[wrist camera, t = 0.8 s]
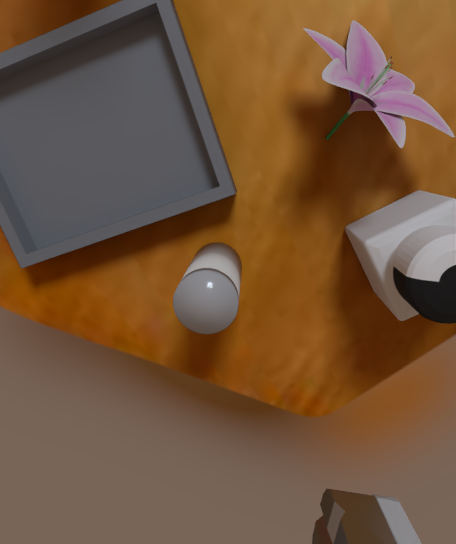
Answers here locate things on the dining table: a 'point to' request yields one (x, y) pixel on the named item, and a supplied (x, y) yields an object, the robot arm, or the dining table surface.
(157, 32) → the tray
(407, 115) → the lily
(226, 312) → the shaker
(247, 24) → the dining table surface
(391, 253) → the medicine bottle
